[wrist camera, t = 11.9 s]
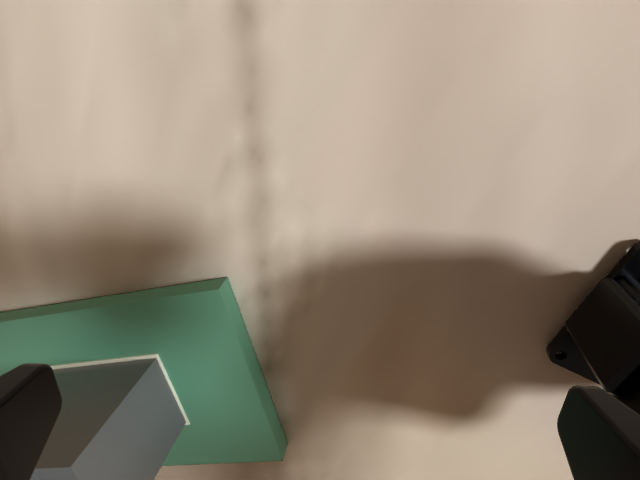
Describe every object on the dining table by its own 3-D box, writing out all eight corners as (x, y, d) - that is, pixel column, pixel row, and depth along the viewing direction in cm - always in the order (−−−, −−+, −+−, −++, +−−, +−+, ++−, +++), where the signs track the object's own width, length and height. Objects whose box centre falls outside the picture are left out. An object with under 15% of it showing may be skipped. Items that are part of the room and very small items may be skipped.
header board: (227, 277, 21) (185, 333, 17) (287, 442, 25) (265, 522, 21) (-23, 316, 25) (-108, 370, 21) (63, 454, 29) (5, 524, 25)
